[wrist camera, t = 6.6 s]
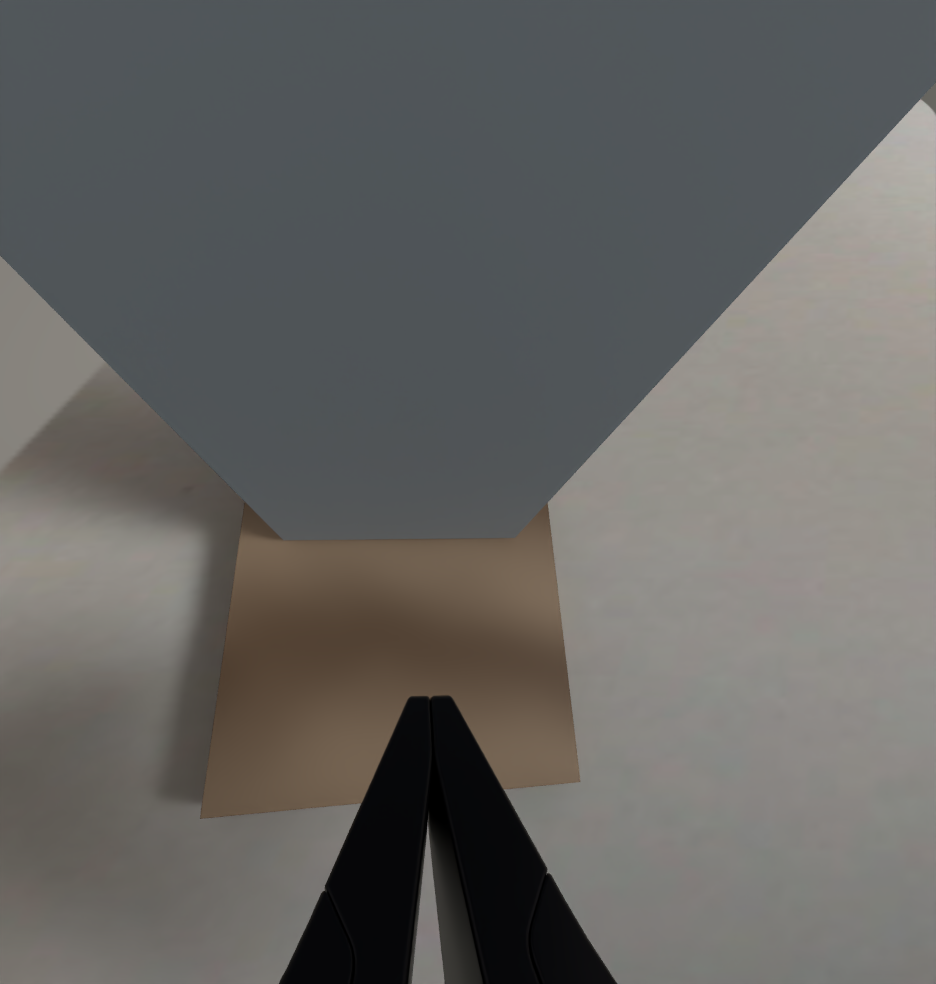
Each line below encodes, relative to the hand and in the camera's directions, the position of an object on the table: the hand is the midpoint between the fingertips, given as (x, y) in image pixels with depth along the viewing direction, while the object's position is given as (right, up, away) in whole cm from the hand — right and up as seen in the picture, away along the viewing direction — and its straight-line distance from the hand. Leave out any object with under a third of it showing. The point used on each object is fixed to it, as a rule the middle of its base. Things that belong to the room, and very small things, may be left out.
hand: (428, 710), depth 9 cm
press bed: (-2, +4, +9) cm, 10 cm away
